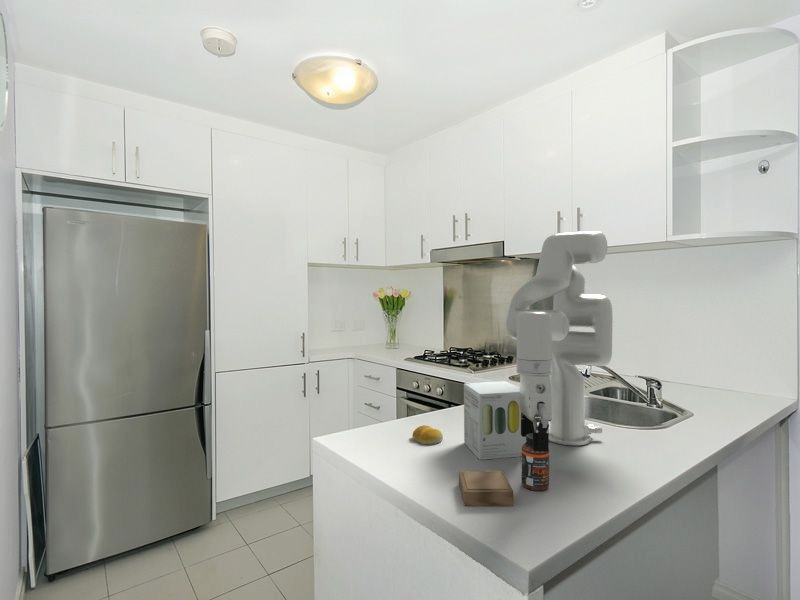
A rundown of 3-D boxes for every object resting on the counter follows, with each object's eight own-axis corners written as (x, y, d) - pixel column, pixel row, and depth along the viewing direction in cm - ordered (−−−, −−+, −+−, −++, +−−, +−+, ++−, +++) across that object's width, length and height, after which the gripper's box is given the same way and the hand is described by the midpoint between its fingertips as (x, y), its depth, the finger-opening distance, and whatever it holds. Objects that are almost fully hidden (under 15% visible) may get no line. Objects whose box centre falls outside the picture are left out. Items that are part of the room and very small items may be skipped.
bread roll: (429, 448, 121) (429, 433, 121) (408, 439, 128) (407, 426, 128) (449, 440, 126) (449, 427, 126) (428, 433, 133) (427, 420, 133)
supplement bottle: (533, 494, 92) (533, 442, 92) (515, 483, 98) (515, 433, 98) (555, 488, 95) (554, 438, 94) (536, 478, 100) (536, 430, 100)
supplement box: (479, 460, 111) (478, 393, 110) (463, 442, 124) (462, 382, 123) (527, 456, 113) (526, 390, 113) (506, 439, 126) (506, 380, 126)
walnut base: (503, 483, 97) (502, 469, 97) (513, 506, 87) (513, 490, 87) (459, 483, 98) (458, 470, 98) (464, 506, 88) (464, 490, 88)
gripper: (564, 373, 87) (564, 457, 87) (539, 361, 104) (539, 431, 104) (527, 373, 87) (527, 457, 87) (508, 361, 104) (508, 431, 104)
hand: (534, 443), depth 95 cm, fingers open, 9 cm apart
